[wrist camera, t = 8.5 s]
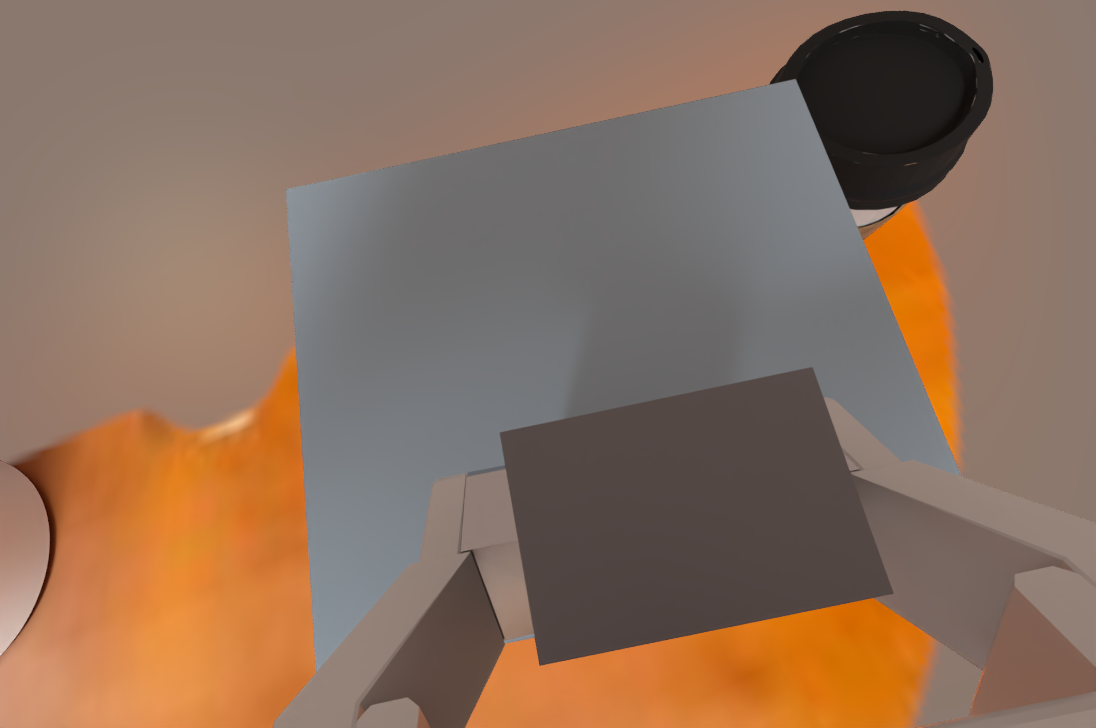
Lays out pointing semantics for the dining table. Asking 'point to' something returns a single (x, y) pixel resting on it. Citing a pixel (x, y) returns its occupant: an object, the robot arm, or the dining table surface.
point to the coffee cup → (891, 105)
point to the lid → (603, 371)
